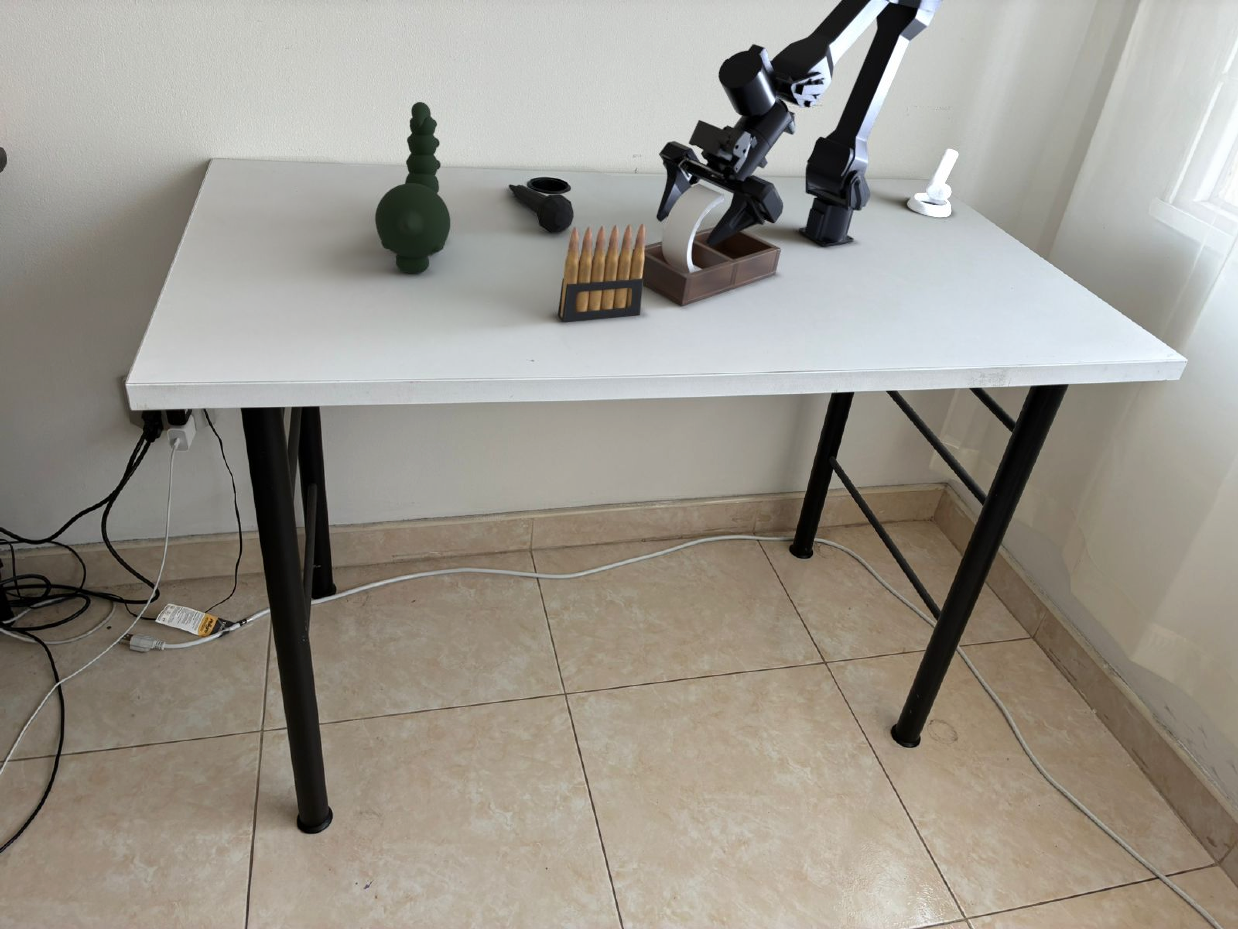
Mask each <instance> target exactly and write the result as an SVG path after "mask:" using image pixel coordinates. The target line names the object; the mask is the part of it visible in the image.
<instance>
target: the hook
mask: <svg viewBox="0 0 1238 929" xmlns="http://www.w3.org/2000/svg"><path fill="white" fill-rule="evenodd" d="M958 157H959V153H958V151H956V150H954V149H951V148H947V149H945V151H944V153H943V155H942V156H941V158H940V160H939V163H938V165H937V166H936V168H935V170H934V172H933V175H932V176H931V178H930V180H929V182H928V183H927V185H926V187H925V192H917V193H914V194H913V195H912V196H911V198H909V199H908V201H907V203H906V205H907V207H908V208H909V209H910V210H912V211H913V212H916V213H918V214H921V215H924V216H929V217H935V218H936V217H937V218H942V217H949V216H950V215H951V212H952V209H951V203H950V201H949V200H948V199H949V197H950V196H951V194H952V189H951V187H950V186H949V185H948V184H946V183H945V182H946V180H947V178H948V177H949V174H950V172H951V170H952V169H953V166H954V164H955V162H956V160H957V158H958ZM925 202H926V203H925ZM929 203H931V204H929ZM933 204H935V205H933Z"/></svg>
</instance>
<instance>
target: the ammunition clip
mask: <svg viewBox="0 0 1238 929" xmlns="http://www.w3.org/2000/svg"><path fill="white" fill-rule="evenodd" d="M645 228H646V227H645V225H644V223H641V224H640V226H639V227H638V230H637V233H636V237H635V241H634V245H633V246H634V247H633V248H632V244H633V230H632V226H631V224H628V225H627V226H626V227H625V230H624V234H623V237H622V242H621V245H620V246H621V247H620V252H619V243H620V242H619V240H620V239H619V238H620V237H619V229H618V226H617V225H614V226H613V227H612V230H611V232H610V235H609V240H608V246H607V252H606V230H605V227H604V225H601V226H600V228H599V229H598V232H597V235H596V238H595V239H596V240H595V244H594V245H595V247H594V250H593V235H592V229H591V227H590V226H587V228H586V229H585V232H584V235H583V238H582V244H581V249H580V255H579V245H580V242H579V232H578V228H577V227H573V229H572V231H571V233H570V236H569V241H568V247H567V248H568V249H567V255H566V258H565V263H564V273H563V278H562V280H561V288H560V295H559V302H558V310H557V316H558V317H559V318H560V320H561V321H562V322H563V323H571V322H582V321H593V320H603V319H614V318H624V317H635V316H640V315H641V308H642V297H643V287H644V285H643V278H642V273H643V266H644V248H645V246H646V229H645ZM632 249H634V251H633V250H632ZM632 251H633V254H632ZM592 252H594V253H593V255H592Z"/></svg>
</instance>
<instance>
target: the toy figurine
mask: <svg viewBox="0 0 1238 929" xmlns="http://www.w3.org/2000/svg"><path fill="white" fill-rule="evenodd" d="M410 110H411V111H410V112H411V118H410V119H409V130H410V132H411V133H410V134H409V136H408V137H407V138H406V143H407V146H408V150H409V153H410V154H408V157H407V159H405V165H406V167H407V168H406V169H407V171H408V174H407V176H406V177H405V182H404V183H402V184H398V185H396V186H394V187H392V188H391V189H389V190H388V191H386V193H385V194H384V195H383V196H382V197H381V199H380V200H379V202H378V204H377V205H376V206H377V207H376V210H375V216H374V222H375V228H376V232H377V235H378V237H379V238H380V239H379V240H380V244H381V246H382V247H383V249H386V250H389V251H391V252H392V253H394V254H396V256H395V261H394V262H395V265H396V267H397V268H398V269H399V271H401V272H404V273H409V274H421V273H424V272H425V271H427V270H428V269H429V266H430V258H429V257H430V256H432V255H433V254H435V253H439V252H441V251H442V250H444V248H445V245H446V242H447V240H448V237H449V234H450V230H451V216H450V212H449V208H448V206H447V204H446V203H445V201H444V199H443V198H442V197H441V196H440V195H439V191H440V182H439V180H438V177H437V176H436V175H437V172H438V170H439V169H440V168H441V166H442V165H441V161H440V160H438V159H437V157H436V156H435V153H436V152H437V149H438V148H439V147H440V139H439V138H437V137H436V136H435V135H434V134H435V132H436V128H437V127H438V122H437V121H436V119H434V118H433V117H432V116H431V115H432V112H431V108H430V107H429V105H428V104H427V103H425V102H422V101H417V102H415V103H414V104H413V105H412V106H411V109H410Z"/></svg>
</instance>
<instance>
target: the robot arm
mask: <svg viewBox="0 0 1238 929" xmlns="http://www.w3.org/2000/svg"><path fill="white" fill-rule="evenodd" d="M942 3H943V0H840V1H839V2H838V4H837V5H836V6H835V7H834V8H833V9H832V10H831V11H830V12H829V14H827V16H826V17H825V18H824V19H823V20H822V21H821V22H820V24H819V25H818V26H817V27H816V28H815V29H814V30H813V31H812V32H811V33H810V34H809V35H808V36H806V37H804V38H801V39H799V40H796V41H793V42H791V43H789V44H788V45H786V46H785V47H784V48H783V49H782V50H781V51H780V52H779V53H777V54H776V55H775V56H774V57H773V58H772V60H770V59H769V53H768V51H767V49H766V47H765V46H761V45H759V44H756V43H752V44H751V46H750V47H749V49H748V50H742V51H739V52H736V53H734V54H733V55H731V56H730V57H728V58H726V59H725V60H724V61H723V62H722V64H721V66H720V67H719V69H718V76H717V77H718V80H719V83H720V84H721V87H722V89H723V90H724V92H725V94H726V96H727V99H728V100H729V102H730V104H731V106H732V108H733V110H734V111H735V113H736V114H737V115H739V116H740V117H739V119H738V120H737V122H736V123H735V124H734V126H731V125H729V124H727V125H726V126H724V127H723V128H721V127H718V126H716V125H713V124H711V123H708V122H706V121H703V120H700V119H698V120H697V123H696V124H695V127H694V130H693V132H692V134H691V136H690V139H689V141H688V144H689V145H690V146H692V147H693V146H695V147H697V148H699V149H701V152H700V155H701V157H702V158H703V160H706V162H707V163H706V164H705V163H703V162H701V161H700V159H699V157H698V156H697V155H696V153H695V151H694V149H693V148H691V147H689V146H687V145H685V144H683V143H680V142H678V141H676V140H673V141H668V142H666V144H665V145H664V146H663V148H662V149H661V151H660V152H659V153H658V155H659V157H660V158H661V160H662V166H663V167H664V169H665V170H666V181H665V186H664V191H663V193H662V196H661V200H660V203H659V206H658V210H657V213H656V215H655V217H656V220H657V221H658V222H659V223H660V222H661V223H662V222H664V220H665V219H667V218H668V215H669V213H670V211H671V209H672V208H673V206H674V204H675V203H676V201H677V200H678V199H679V198H680V196H681V195H682V194H683V193H684V192H685V191H687V190H688V189H689V188H691V187H692V186H694V185H697V184H699V182H700V181H701V180H702V181H704V182H706V183H708V184H711V185H713V186H715V187H717V188H720V189H722V190H725V191H726V192H729V193H730V194H732V198H731V202H730V205H729V207H728V208H727V210H726V211H725V212H724V214H723V215H722V216H721V218H720V219H719V221H718V222H717V223H716V224H715V226H714V227H715V228H714V229H713V230H712V232H711V233H710V235H709V237H708V238H707V240H706V244H707V245H708V246H709V247H711V246H713V245H715V244H717V243H719V242H720V241H722V240H724V239H726V238H728V237H730V236H732V235H734V234H736V233H738V232H740V231H742V230H743V231H745V230H747V229H749V228H752V227H754V226H756V225H759V226H763V225H764V224H765V223H766V222H768V223H770V224H775V223H776V222H777V221H778V220H779V218H780V217H781V215H782V214H783V210H784V202H783V200H782V197H781V196H780V194H779V192H778V190H777V188H776V187H775V185H774V183H773V182H771V181H768V180H766V179H764V178H761V177H759V176H757V175H755V174H754V173H755V171H756V170H757V168H761V169H765V168H766V166H767V165H768V163H769V162H768V160H767V158H766V156H767V155H768V154H769V152H770V150H771V149H772V148H773V147H774V146H775V144H776V143H777V141H778V140H779V138H780V137H781V136H782V134H783V133H786V134H789V135H792V136H793V135H794V134H795V132H796V123H795V122H796V121H795V118H796V113H795V112H793V111H790V109H789V108H788V107H789V106H788V105H787V104H786V102H787V103H789V104H792V105H794V106H798V107H800V108H808V109H809V108H811V107H813V106H814V105H815V104H816V103H817V102H818V101H819V100H820V98H821V97H822V96H823V94H824V93H825V92H826V90H827V88H828V87H829V86H830V84H831V83H832V81H833V75H834V67H835V65H836V64H837V63H838V61H839V60H840V59H841V57H842V56H843V55H844V54H845V53H846V52H847V51H848V50H849V49H850V47H851V46H852V45H853V44H854V43H855V42H856V41H857V40H858V38H859V37H861V35H862V34H863V33H864V32H865V30H866V29H867V28H868V27H869V26H870V25H871V24H872V23H873V21H874V20H875V19H876V20H875V21H876V30H875V34H874V36H873V38H872V40H871V43H870V46H869V48H868V51H867V53H866V55H865V58H864V59H863V62H862V64H861V67H860V69H859V72H858V74H857V76H856V79H855V82H854V84H853V87H852V89H851V92H850V93H849V96H848V98H847V100H846V103H845V106H844V108H843V110H842V113H841V115H840V118H839V120H838V122H837V124H836V127H835V129H834V130H833V131H831V133H829V134H828V135H827V136H825V137H824V136H819V137H818V138H817V139H816V141H815V143H814V145H813V149H812V152H811V154H810V155H809V157H808V159H807V160H806V166H805V185H804V186H805V194H808V195H811V196H814V197H813V200H812V205H811V208H809V212H808V216H807V220H806V224H805V227H799V228H798V232H799V233H800V234H802V235H803V236H805V237H807V238H809V239H810V240H812V241H814V242H815V243H817V244H819V245H821V246H822V247H826V248H827V247H832V246H833V247H834V246H838V245H844V244H849V243H853V242H854V240H855V239H854V237H852V236H850V235H848V233H849V229H850V225H851V222H852V218H853V214H854V211H856V212H857V211H858V212H860V211H862V210H863V208H865V207H866V206H867V204H868V202H869V199H870V198H871V194H872V192H871V190H870V187H869V184H868V182H867V180H866V177H865V174H866V171H867V168H868V165H869V153H868V152H869V151H868V144H867V143H868V142H867V141H868V139H869V137H870V133H871V131H872V129H873V127H874V124H875V122H876V120H877V117H878V115H879V113H880V110H881V108H882V106H883V104H884V101H885V99H886V96H887V94H888V92H889V90H890V87H891V85H892V82H893V81H894V78H895V76H896V73H897V71H898V68H899V67H900V64H901V62H902V59H903V57H904V54H905V52H906V50H907V48H908V45H909V44H910V42H911V41H912V40H913V39H914V38H916V37H917V36H918V35H919V34H920V33H921V32H923V31H924V30H925V29H926V28H928V26H929V25H930V23H931V21H932V20H933V18H934V16H935V14H936V12H937V10H938V9H939V8H940V6H941V5H942Z"/></svg>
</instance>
